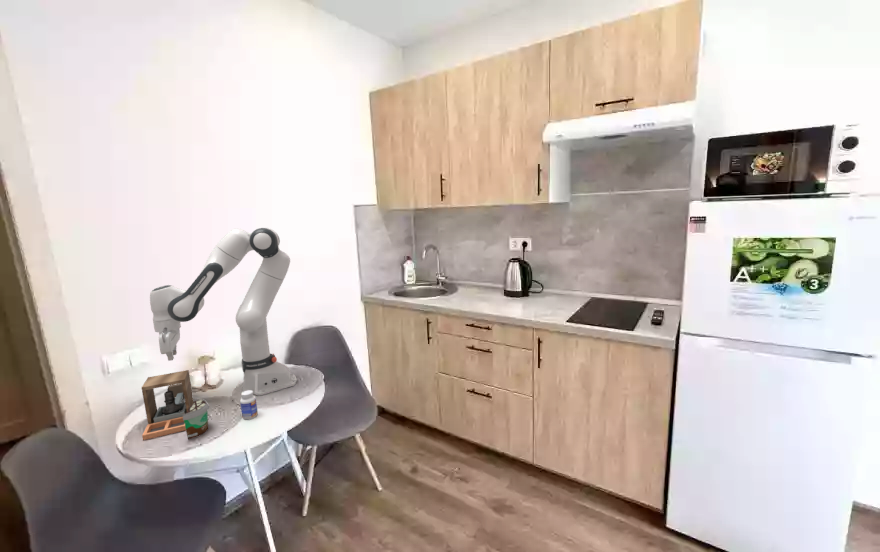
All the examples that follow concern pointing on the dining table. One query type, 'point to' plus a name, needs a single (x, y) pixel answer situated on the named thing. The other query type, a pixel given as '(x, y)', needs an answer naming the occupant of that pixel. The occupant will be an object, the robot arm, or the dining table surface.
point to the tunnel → (161, 382)
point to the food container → (196, 418)
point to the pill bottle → (248, 405)
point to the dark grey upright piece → (170, 403)
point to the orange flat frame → (164, 428)
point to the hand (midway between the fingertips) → (172, 357)
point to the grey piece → (179, 395)
